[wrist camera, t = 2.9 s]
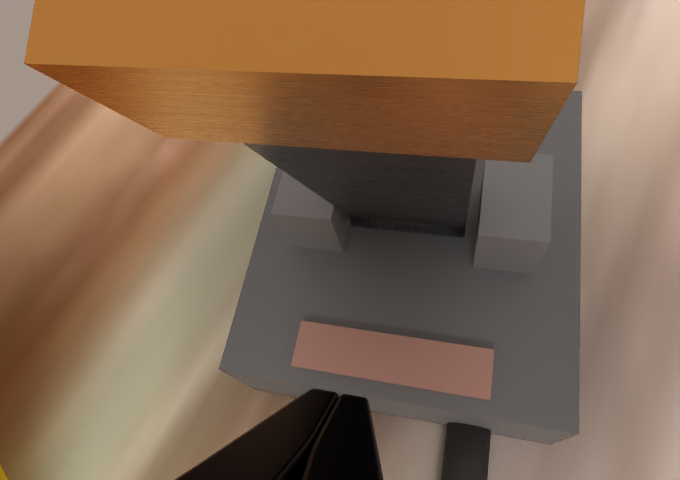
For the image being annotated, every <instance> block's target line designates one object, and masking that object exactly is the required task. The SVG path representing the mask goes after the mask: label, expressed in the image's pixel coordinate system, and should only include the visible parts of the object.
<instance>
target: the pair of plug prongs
mask: <svg viewBox="0 0 680 480" xmlns="http://www.w3.org/2000/svg"><path fill="white" fill-rule="evenodd" d="M490 435H491V430H489V429H487V428H483V427H480V426H475V425H470V424H464V423H456V422H448V423H447V431H446V440H445V450H444V459H443V469H442V478H441V480H487V475H488V462H489V448H490Z"/></svg>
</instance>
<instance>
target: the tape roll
mask: <svg viewBox="0 0 680 480" xmlns="http://www.w3.org/2000/svg"><path fill="white" fill-rule="evenodd" d="M0 480H8V479H7V476H6V474H5V472H4V470H3V469H2V467H1V465H0Z"/></svg>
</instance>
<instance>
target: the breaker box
mask: <svg viewBox="0 0 680 480" xmlns="http://www.w3.org/2000/svg"><path fill="white" fill-rule="evenodd" d="M581 112H582V91H572V92H571V94H570V96H569V97H568V99H567V101H566V103H565V104H564V106H563V108H562V109H561V111H560V113H559V115H558V116H557V118H556V120H555V121H554V123H553V125H552V127H551V128H550V130H549V132H548V133H547V135H546V137H545V139H544V140H543V142H542V144H541V145H540V147H539V149H538V150H537V152H536V154H535V156H534V157H533V159H532V161H531V162H530V163H524V162H509V161H495V160H481V159H476V165H475V171H474V178H473V184H472V190H471V197H470V203H469V210H468V216H467V222H466V229H465V237H464V238H458V237H449V236H439V235H429V234H420V233H410V232H401V231H391V230H381V229H372V228H362V227H353V226H351V223H350V218H349V216H348V215H346V214H345V213H344V212H342V211H341V210H339V209H338V208H336V207H335V206H333V205H332V204H330V203H329V202H328V201H326V200H325V199H323V198H322V197H320V196H319V195H317V194H316V193H315V192H313V191H312V190H310V189H309V188H307V187H306V186H304V185H303V184H302V183H300V182H299V181H297V180H296V179H294V178H293V177H291V176H290V175H288V174H287V173H286V172H284V171H283V170H281V169H280V168H278V167H277V168H276V172H275V175H274V179H273V182H272V186H271V189H270V193H269V196H268V200H267V203H266V207H265V210H264V214H263V217H262V221H261V224H260V228H259V231H258V235H257V238H256V242H255V245H254V249H253V252H252V256H251V259H250V263H249V266H248V270H247V273H246V277H245V280H244V284H243V287H242V291H241V294H240V298H239V301H238V305H237V308H236V312H235V315H234V319H233V322H232V325H231V329H230V332H229V336H228V339H227V343H226V346H225V350H224V353H223V357H222V360H221V364H220V367H219V370H221V371H223V372H225V373H227V374H228V375H230V376H232V377H234V378H236V379H237V380H239V381H241V382H243V383H245V384H247V385H248V386H250V387H252V388H254V389H256V390H261V391H267V392H272V393H277V394H283V395H288V396H293V397H300V396H301V395H303V394H304V393H306V392H307V391H309V390H310V389H314V388H315V389H322V390H327V391H333V392H337V393H338V395H339V396H340V395H342V394H349V395H355V396H360V397H365V398H367V399H368V401H369V405H370V411H374V412H379V413H385V414H390V415H395V416H401V417H406V418H412V419H417V420H422V421H428V422H433V423H438V424H444V425H447V423H448V422H456V423H464V424H470V425H475V426H480V427H483V428H487V429H489V430H491V433H492V434H497V435H503V436H508V437H514V438H519V439H524V440H530V441H535V442H540V443H546V444H553V443H556V442H558V441H561V440H564V439H567V438H569V437H572V436H575V435H578V434H579V348H580V230H581Z"/></svg>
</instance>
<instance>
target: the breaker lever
mask: <svg viewBox="0 0 680 480" xmlns="http://www.w3.org/2000/svg"><path fill="white" fill-rule="evenodd" d="M584 6H585V0H35V4H34V10H33V15H32V21H31V27H30V32H29V38H28V44H27V50H26V56H25V61H24V64H26V65H28V66H30V67H32V68H33V69H35V70H37V71H39V72H41V73H43V74H45V75H47V76H49V77H51V78H52V79H54V80H56V81H58V82H60V83H62V84H64V85H66V86H68V87H70V88H72V89H73V90H75V91H77V92H79V93H81V94H83V95H85V96H87V97H89V98H91V99H92V100H94V101H96V102H98V103H100V104H102V105H104V106H106V107H108V108H110V109H112V110H113V111H115V112H117V113H119V114H121V115H123V116H125V117H127V118H129V119H131V120H133V121H134V122H136V123H138V124H140V125H142V126H144V127H146V128H148V129H150V130H152V131H154V132H155V133H157V134H159V135H161V136H163V137H165V138H177V139H191V140H206V141H220V142H234V143H244V144H245V145H246V146H248V147H249V148H251V149H252V150H254V151H255V152H257V153H258V154H259V155H261V156H262V157H264V158H265V159H267V160H268V161H270V162H271V163H273V164H274V165H275V166H277V167H278V168H280V169H281V170H283V171H284V172H286V173H287V174H288V175H290V176H291V177H293V178H294V179H296V180H297V181H299V182H300V183H302V184H303V185H304V186H306V187H307V188H309V189H310V190H312V191H313V192H315V193H316V194H317V195H319V196H320V197H322V198H323V199H325V200H326V201H328V202H329V203H330V204H332V205H333V206H335V207H336V208H338V209H339V210H341V211H342V212H344V213H345V214H346V215H348V216H349V218H350V223H351V226H353V227H362V228H372V229H381V230H391V231H401V232H410V233H420V234H429V235H439V236H449V237H458V238H464V237H465V229H466V222H467V216H468V210H469V203H470V197H471V190H472V184H473V178H474V171H475V165H476V159H481V160H495V161H509V162H524V163H530V162H531V161H532V159H533V157H534V156H535V154H536V152H537V150H538V149H539V147H540V145H541V144H542V142H543V140H544V139H545V137H546V135H547V133H548V132H549V130H550V128H551V127H552V125H553V123H554V121H555V120H556V118H557V116H558V115H559V113H560V111H561V109H562V108H563V106H564V104H565V103H566V101H567V99H568V97H569V96H570V94H571V92H572V91H573V89H574V87H575V85H576V84H577V78H578V68H579V58H580V47H581V37H582V27H583V17H584Z"/></svg>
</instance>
